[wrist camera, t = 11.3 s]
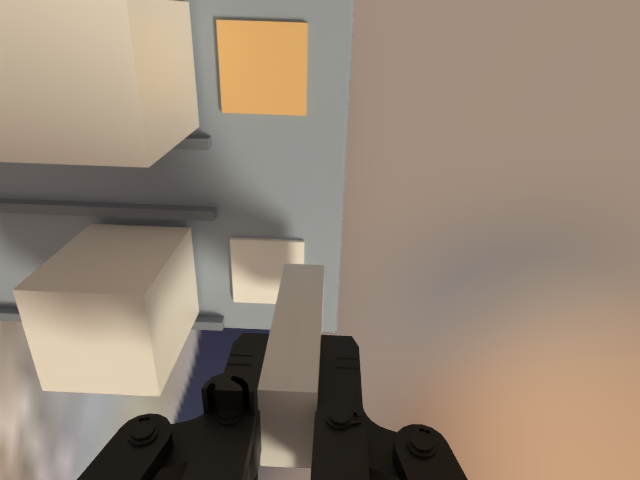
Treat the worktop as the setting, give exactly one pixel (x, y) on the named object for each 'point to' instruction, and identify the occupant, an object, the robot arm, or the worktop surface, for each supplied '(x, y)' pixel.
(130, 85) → the tab
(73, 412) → the worktop surface
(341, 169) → the switch bank
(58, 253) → the tab
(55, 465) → the worktop surface
